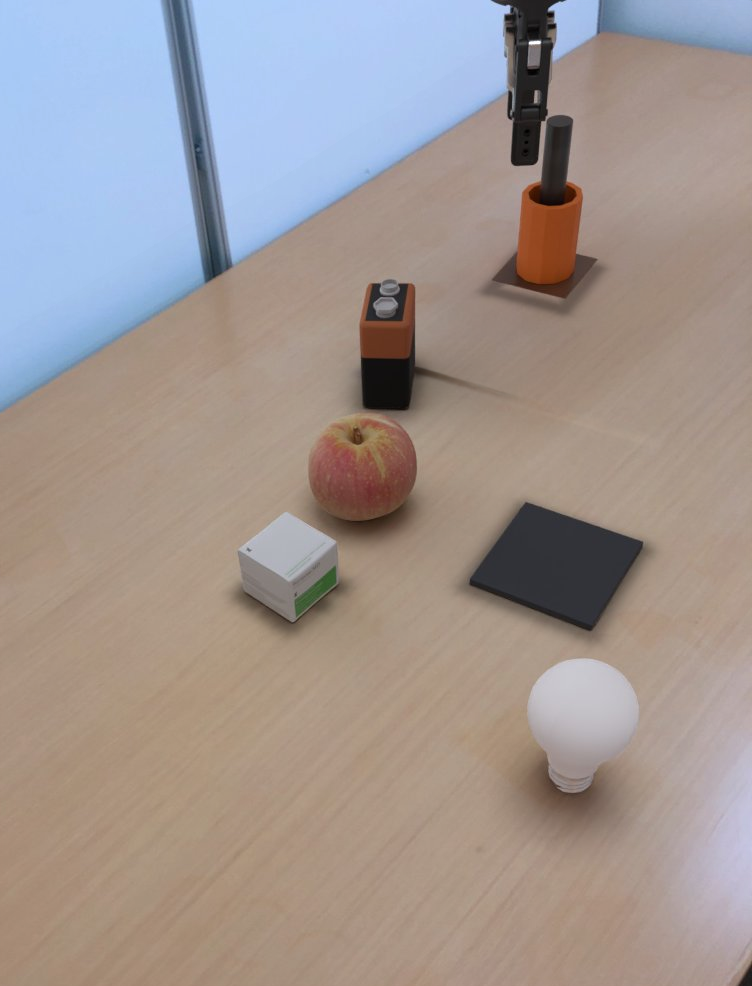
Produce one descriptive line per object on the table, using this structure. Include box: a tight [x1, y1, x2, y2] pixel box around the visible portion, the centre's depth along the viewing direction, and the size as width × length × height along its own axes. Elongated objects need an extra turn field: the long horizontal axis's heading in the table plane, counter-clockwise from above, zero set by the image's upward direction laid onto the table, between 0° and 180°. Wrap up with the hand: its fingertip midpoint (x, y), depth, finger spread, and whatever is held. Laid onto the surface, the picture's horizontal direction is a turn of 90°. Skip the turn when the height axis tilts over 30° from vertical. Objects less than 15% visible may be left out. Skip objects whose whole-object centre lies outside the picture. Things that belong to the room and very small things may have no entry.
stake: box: [491, 114, 599, 300], centre depth 106 cm, size 8×8×16 cm
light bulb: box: [526, 657, 640, 794], centre depth 69 cm, size 7×7×11 cm
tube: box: [516, 180, 584, 284], centre depth 109 cm, size 6×6×8 cm
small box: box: [237, 511, 340, 623], centre depth 85 cm, size 6×6×5 cm
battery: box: [358, 278, 416, 410], centre depth 99 cm, size 4×7×10 cm, turn 170°
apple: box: [307, 412, 418, 522], centre depth 90 cm, size 9×9×8 cm
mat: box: [469, 501, 644, 631], centre depth 86 cm, size 10×10×1 cm
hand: (521, 140), depth 93 cm, fingers open, 8 cm apart
